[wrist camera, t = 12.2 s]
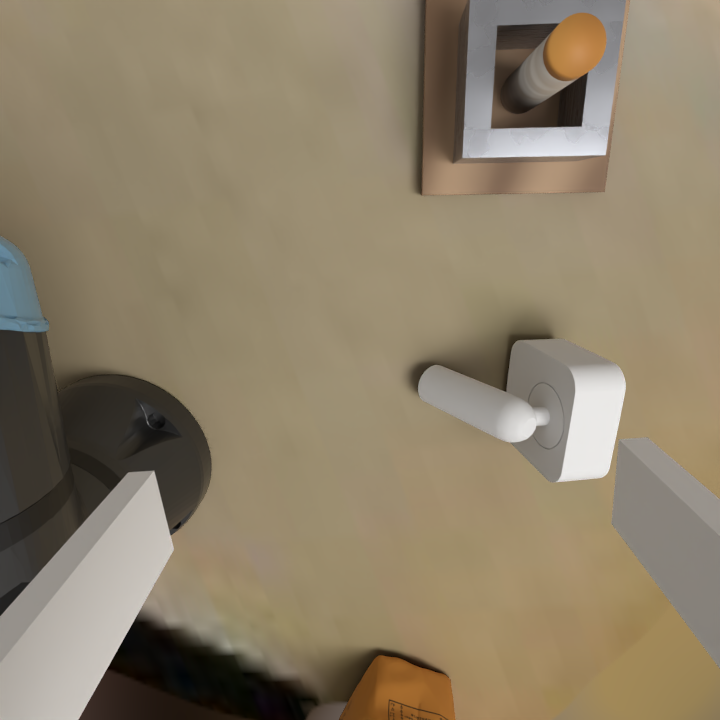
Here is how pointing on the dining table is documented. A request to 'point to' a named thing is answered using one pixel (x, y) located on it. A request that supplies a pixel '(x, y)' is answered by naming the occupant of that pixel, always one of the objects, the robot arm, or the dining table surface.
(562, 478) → the wall hook
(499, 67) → the keeper
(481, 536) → the dining table surface
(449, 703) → the coffee package
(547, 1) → the link
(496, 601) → the dining table surface
